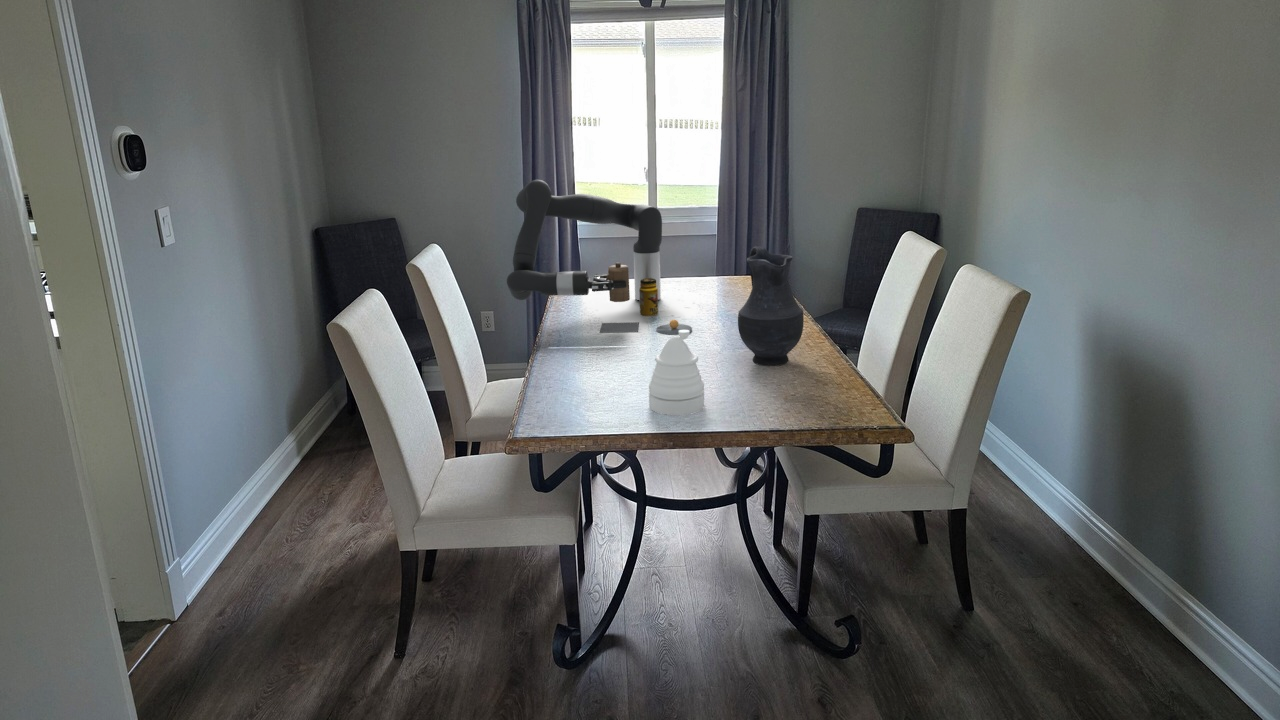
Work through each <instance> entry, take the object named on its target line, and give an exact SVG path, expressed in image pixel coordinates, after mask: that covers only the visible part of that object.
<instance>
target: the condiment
mask: <svg viewBox="0 0 1280 720" xmlns="http://www.w3.org/2000/svg"><path fill="white" fill-rule="evenodd" d="M640 283H641V284H640V286H641V287H640V289H639V294H640V301H639V313H640V315H641V316H645V317H648V316H649V317H652V316H657V315H658V313H659V302H658V301H659V300H658V289H657V287H656V280H655V279H653V278H645V279H641V281H640Z"/></svg>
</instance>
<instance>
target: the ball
mask: <svg viewBox="0 0 1280 720" xmlns="http://www.w3.org/2000/svg"><path fill="white" fill-rule="evenodd" d="M668 324H669V325H670V327H671V328H673V329H675V328H677V327H678V325H679V324H680V323H679V321H678V320H677V319H671V320H670V321H669V323H668Z"/></svg>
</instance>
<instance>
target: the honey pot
mask: <svg viewBox="0 0 1280 720" xmlns="http://www.w3.org/2000/svg"><path fill="white" fill-rule="evenodd" d="M678 333H679V334H678V336H672V337H670V338H669V339H668V340H667V341H666V342H665V344H664V345H663V346H662V349H661V350H660V353H659V354H657V355H656V356H654V357H655V358H654V361H655V363H656V365H655V368H653V370H652V376H651V380H650V382H649V385H648V392H649V393H648V403H649V404H648V405H649V409H650V410H651V409H652V410H653V411H652V410H651V411H652V412H654V411H655V413H656V412H658V413H657V414H659V413H662V414H661V415H664V414H667V415H666V416H686V415H687V414H688V415H691V413H693V414H695V412H696V413H698V412H701V411H702V410H703V409H704V408H703V407H705V383H704V382H703V381H704V380H702V375H701V374H700V369H699V368H698V365H697V362H699V355H698V354H696V353H694V352H692V351H691V350H690V348H689V346H688V344H687V343H686V341H684V340H686V339H688V338H689V336H690V334H691V333H690V331H689V330H679V331H678ZM701 409H702V410H701Z"/></svg>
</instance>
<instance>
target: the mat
mask: <svg viewBox="0 0 1280 720" xmlns="http://www.w3.org/2000/svg"><path fill="white" fill-rule="evenodd" d="M639 329H640V321H639V322H638V321H636V322H626V321H625V322H601V326H600V329H599V332H598V334H615V333H616V334H619V333H622V334H623V333H624V334H625V333H627V334H629V333H639V331H640V330H639Z"/></svg>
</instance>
